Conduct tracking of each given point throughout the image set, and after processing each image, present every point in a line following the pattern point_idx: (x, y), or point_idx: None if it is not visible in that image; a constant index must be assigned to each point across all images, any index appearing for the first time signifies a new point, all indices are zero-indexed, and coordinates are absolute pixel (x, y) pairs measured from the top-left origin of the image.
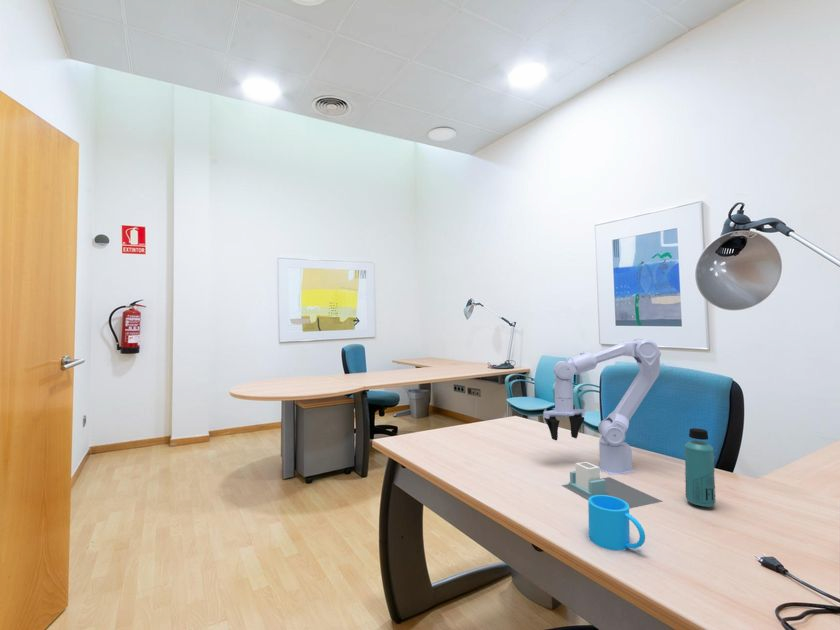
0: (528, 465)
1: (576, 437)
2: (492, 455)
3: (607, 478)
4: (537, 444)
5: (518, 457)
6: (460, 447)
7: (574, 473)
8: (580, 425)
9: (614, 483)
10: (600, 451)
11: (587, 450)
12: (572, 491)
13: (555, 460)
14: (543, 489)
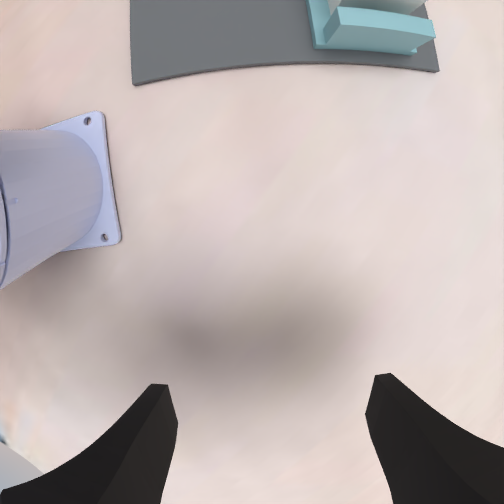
0: (409, 343)
1: (155, 387)
2: None
3: (156, 67)
4: (216, 492)
5: None
6: None
7: (417, 18)
8: (73, 462)
9: (171, 9)
10: (48, 222)
11: (62, 411)
12: (424, 8)
13: (251, 376)
14: (497, 92)
